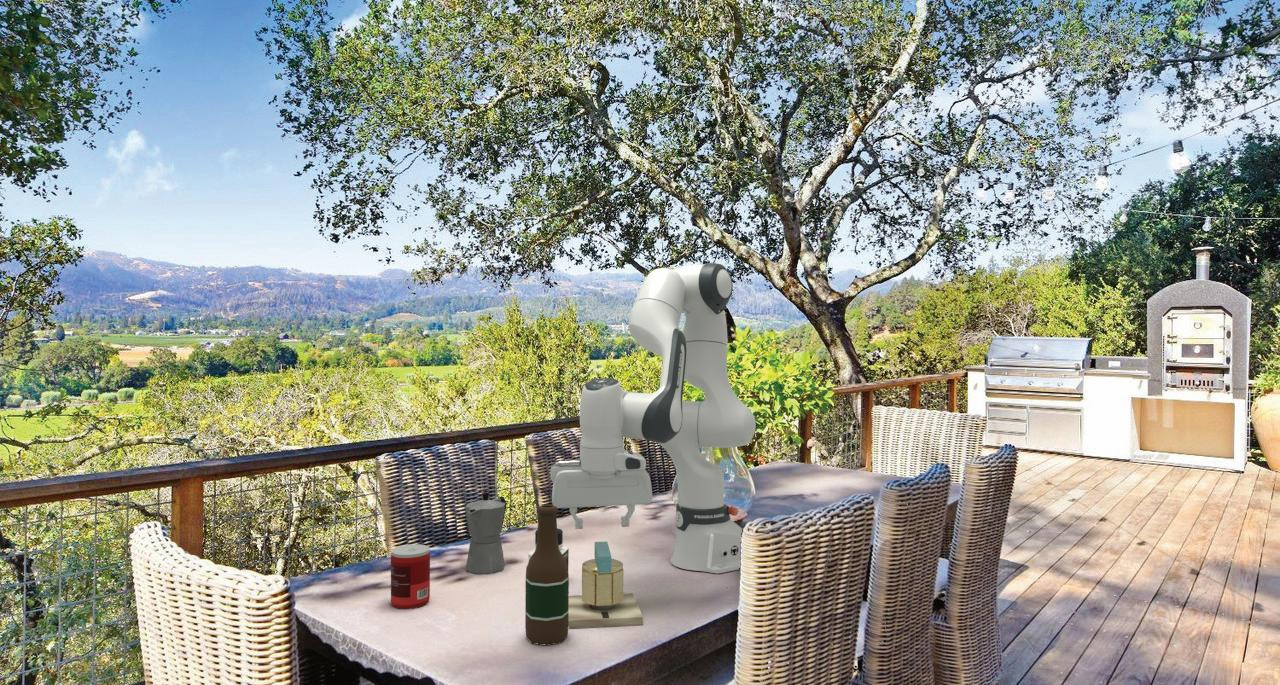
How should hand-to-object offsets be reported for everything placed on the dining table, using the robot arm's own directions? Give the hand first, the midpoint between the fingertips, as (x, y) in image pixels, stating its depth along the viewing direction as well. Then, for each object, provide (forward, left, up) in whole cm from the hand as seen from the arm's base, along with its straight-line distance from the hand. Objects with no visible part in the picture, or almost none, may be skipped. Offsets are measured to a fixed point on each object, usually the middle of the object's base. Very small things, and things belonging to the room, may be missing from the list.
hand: (602, 527), depth 161 cm
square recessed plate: (+1, +4, -16) cm, 17 cm away
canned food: (+35, -17, -16) cm, 42 cm away
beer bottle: (+15, +12, -16) cm, 25 cm away
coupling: (+1, +4, -13) cm, 14 cm away
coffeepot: (+15, -35, -16) cm, 41 cm away
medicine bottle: (+5, -19, -16) cm, 26 cm away
